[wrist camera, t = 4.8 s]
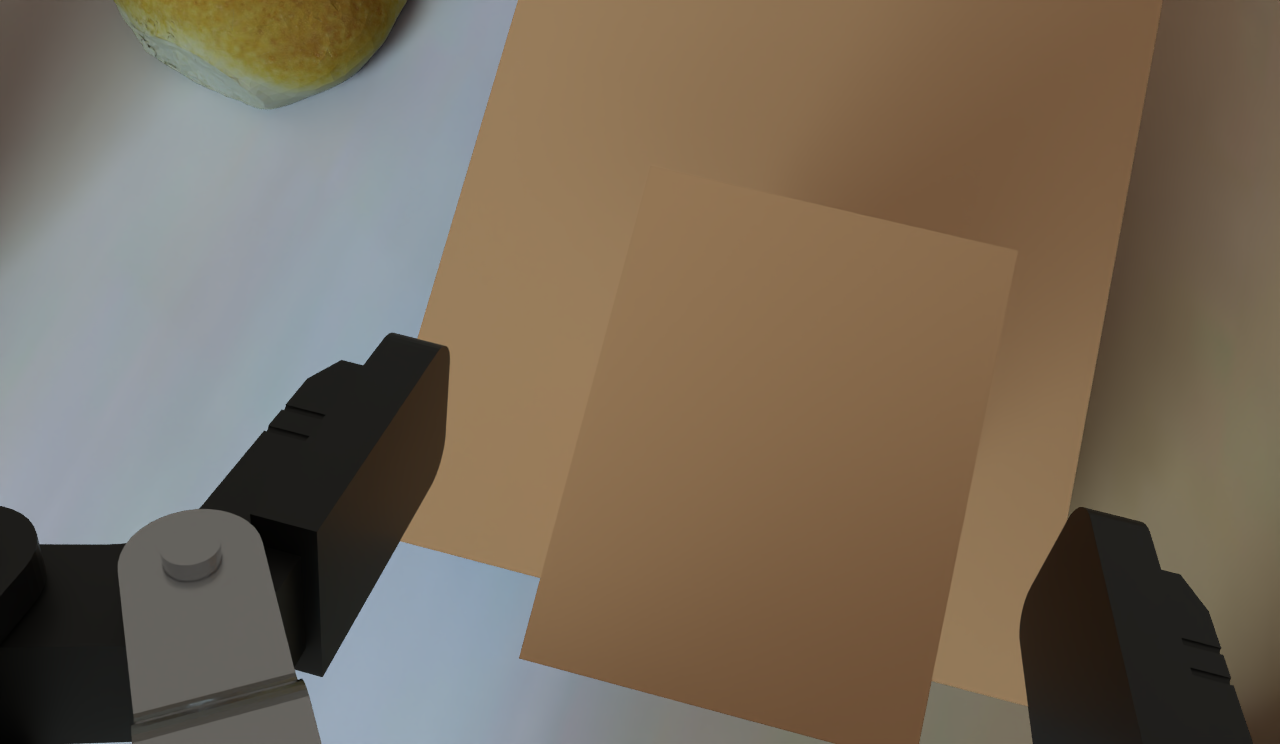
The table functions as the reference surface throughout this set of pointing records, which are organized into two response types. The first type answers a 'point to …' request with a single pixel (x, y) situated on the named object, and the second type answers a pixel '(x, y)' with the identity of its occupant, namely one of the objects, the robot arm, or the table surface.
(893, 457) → the lid
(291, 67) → the bread roll
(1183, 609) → the robot arm
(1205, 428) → the table surface
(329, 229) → the table surface
